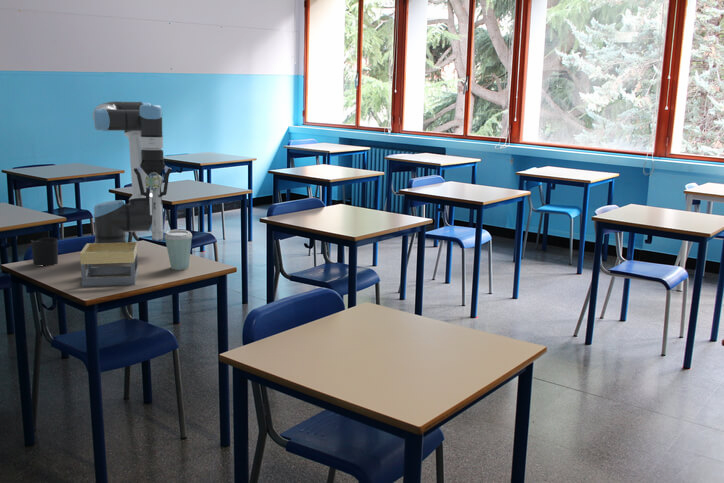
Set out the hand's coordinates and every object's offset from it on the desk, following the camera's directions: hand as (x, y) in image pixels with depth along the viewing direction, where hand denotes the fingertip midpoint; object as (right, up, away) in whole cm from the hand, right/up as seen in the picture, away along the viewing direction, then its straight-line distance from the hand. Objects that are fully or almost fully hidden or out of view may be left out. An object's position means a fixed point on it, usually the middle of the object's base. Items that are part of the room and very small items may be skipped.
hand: (154, 214), depth 242 cm
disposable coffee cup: (+4, -21, +20) cm, 29 cm away
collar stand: (-16, -24, +1) cm, 29 cm away
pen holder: (-50, -19, +22) cm, 58 cm away
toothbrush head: (0, -10, +2) cm, 10 cm away
